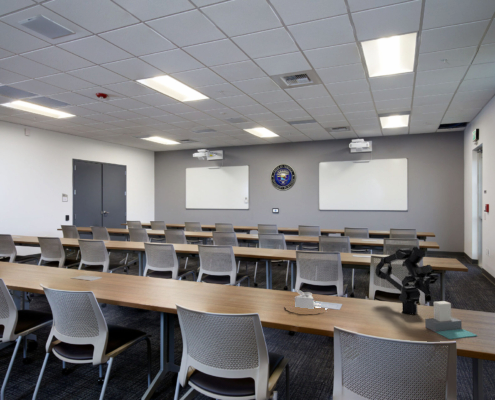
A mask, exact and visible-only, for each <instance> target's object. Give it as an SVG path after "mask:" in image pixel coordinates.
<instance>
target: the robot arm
mask: <svg viewBox="0 0 495 400" xmlns="http://www.w3.org/2000/svg"><path fill="white" fill-rule="evenodd" d="M425 256H426V253H425V251H424V250H422V249H421V248H419V247H418V246H414V247H412V250H411V248H398V249H397V250H395V252H394V253H392V254H389V255H387V256H384V257H381V259H380V261H379V263H378V264H377V265H376V267H375V275H376V277H377V278H379V279H382V280H386V282H388V283H390V284H391V285H392V287H395V288H396V289H397V290H398V291H400V295H399V296H398V300H399V301H400V302H401V303H402V304H401V305H402V306H401V307H402V311H401V313H402V314H407V315H413V316H415V315H416V314H417V313H418V303H419V302H420V298H421V292H422V293H424V294H425V295H426V296H430V295H432V294H431V287H430V285H434V284H436V283H437V282H438V281H439V280H440V276H439V275H438V274H437V273H432V274H431V272H432V271H433V270H434V269H433V267H432V265H431V264H427V265H422V266H419V265H418V264H419V263H420V262H422V260H423V259H424V257H425ZM401 260H404V261H402V264H401V265H402V266H401V267H405V268H406V269H407V271H408V273H407V275H405V276H404V277H403V279H402V280H401V279H399V278H398V277H397V276H395V275H394V274H393V271H392V270H393V267H392V263H395V262H398V261H401ZM385 265H387V266H385ZM384 266H385V267H384ZM428 273H430V274H429V275H428ZM427 275H428V276H427ZM420 291H421V292H420ZM417 302H418V303H417Z"/></svg>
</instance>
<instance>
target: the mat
mask: <svg viewBox="0 0 495 400" xmlns="http://www.w3.org/2000/svg"><path fill="white" fill-rule="evenodd" d="M435 333H436V334H439V335H441V336H442V337H444V338H446V339H448V340H456V339H465V338H472V337H478V335H477V334H475V333H474V332H472V331H468V330H467V329H464V328H462V329H456V330H447V331H438V332H435Z"/></svg>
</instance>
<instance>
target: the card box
mask: <svg viewBox="0 0 495 400" xmlns="http://www.w3.org/2000/svg"><path fill="white" fill-rule="evenodd" d="M451 317H452V303H451V302H448V301H445V300H441V301H433V318H434V319H436V320H438V321H440V322H441V321H451Z"/></svg>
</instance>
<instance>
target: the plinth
mask: <svg viewBox="0 0 495 400" xmlns="http://www.w3.org/2000/svg"><path fill="white" fill-rule="evenodd" d="M424 320H425V328H426V329H428V330H430V331H432V332H434V333H436V332H438V331H447V330H456V329H463V327H462V325H463V324H462V319H458V318H456V317H453V316H451V321H441V322H440V321H438V320H436V319H434V317H431V318H430V317H429V318H425V319H424Z"/></svg>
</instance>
